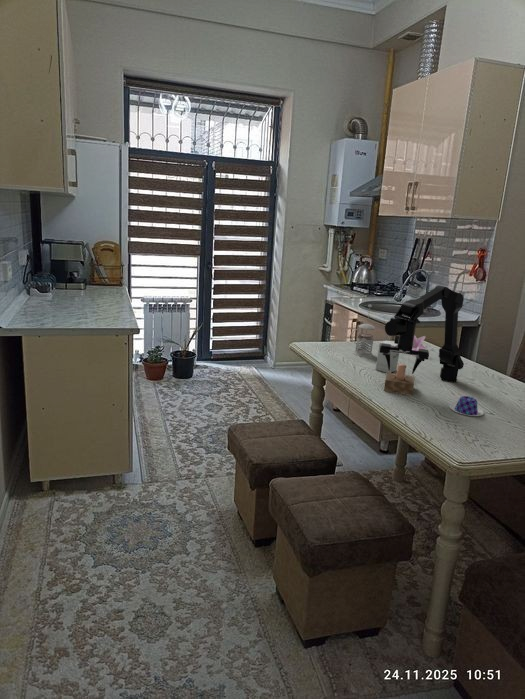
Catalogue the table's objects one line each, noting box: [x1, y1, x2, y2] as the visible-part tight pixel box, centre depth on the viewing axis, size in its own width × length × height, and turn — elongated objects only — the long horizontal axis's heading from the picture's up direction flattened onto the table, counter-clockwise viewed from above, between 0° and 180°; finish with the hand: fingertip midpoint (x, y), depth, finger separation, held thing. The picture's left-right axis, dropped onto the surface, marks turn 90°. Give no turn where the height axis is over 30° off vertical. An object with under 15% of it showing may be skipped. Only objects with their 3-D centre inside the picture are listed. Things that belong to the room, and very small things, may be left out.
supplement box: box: [375, 340, 400, 374], centre depth 240 cm, size 7×7×13 cm
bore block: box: [383, 372, 415, 396], centre depth 216 cm, size 11×11×4 cm
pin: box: [395, 363, 407, 380], centre depth 215 cm, size 3×3×9 cm
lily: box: [406, 335, 427, 358], centre depth 274 cm, size 12×12×10 cm
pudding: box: [449, 395, 484, 417], centre depth 198 cm, size 12×12×5 cm
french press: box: [351, 304, 376, 358], centre depth 262 cm, size 10×12×25 cm
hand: (400, 371), depth 215 cm, fingers open, 9 cm apart
